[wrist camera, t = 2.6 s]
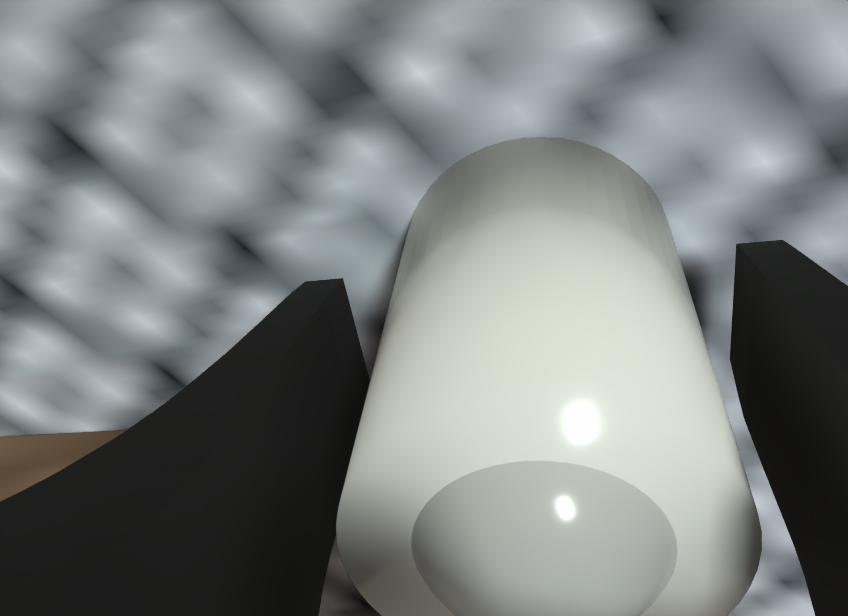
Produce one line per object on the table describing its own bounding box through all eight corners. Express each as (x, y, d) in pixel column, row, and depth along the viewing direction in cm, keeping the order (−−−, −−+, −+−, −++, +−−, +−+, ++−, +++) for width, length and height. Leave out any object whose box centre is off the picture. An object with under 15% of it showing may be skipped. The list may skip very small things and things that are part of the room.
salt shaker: (672, 120, 12) (805, 447, 6) (671, 356, 14) (765, 745, 9) (382, 154, 12) (268, 470, 7) (428, 372, 15) (369, 737, 9)
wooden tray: (391, 415, 16) (375, 493, 14) (452, 658, 20) (445, 738, 18) (-271, 451, 18) (-349, 518, 17) (-89, 657, 23) (-136, 726, 21)
